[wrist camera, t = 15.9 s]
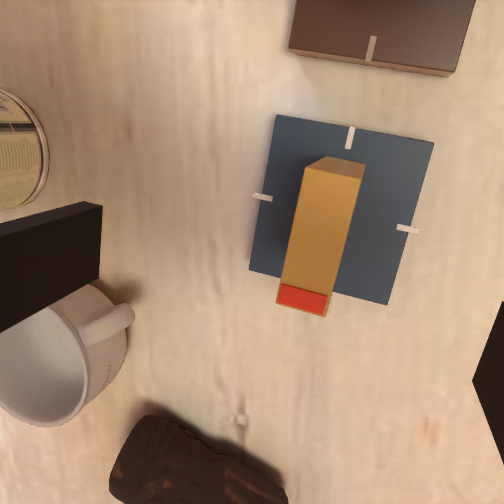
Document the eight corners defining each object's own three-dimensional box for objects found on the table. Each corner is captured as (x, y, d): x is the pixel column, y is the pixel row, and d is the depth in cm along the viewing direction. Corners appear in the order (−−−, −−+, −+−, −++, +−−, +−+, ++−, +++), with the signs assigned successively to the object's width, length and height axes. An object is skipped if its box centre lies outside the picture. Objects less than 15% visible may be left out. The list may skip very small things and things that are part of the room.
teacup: (63, 381, 43) (-2, 434, 36) (21, 278, 41) (-57, 310, 34) (189, 362, 39) (144, 417, 31) (148, 245, 37) (91, 274, 29)
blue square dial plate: (275, 112, 31) (266, 111, 29) (439, 141, 29) (445, 142, 27) (249, 260, 35) (239, 270, 32) (394, 296, 32) (395, 310, 30)
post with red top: (325, 155, 29) (304, 167, 20) (366, 164, 28) (361, 179, 20) (302, 256, 31) (274, 305, 22) (339, 265, 30) (324, 320, 22)
